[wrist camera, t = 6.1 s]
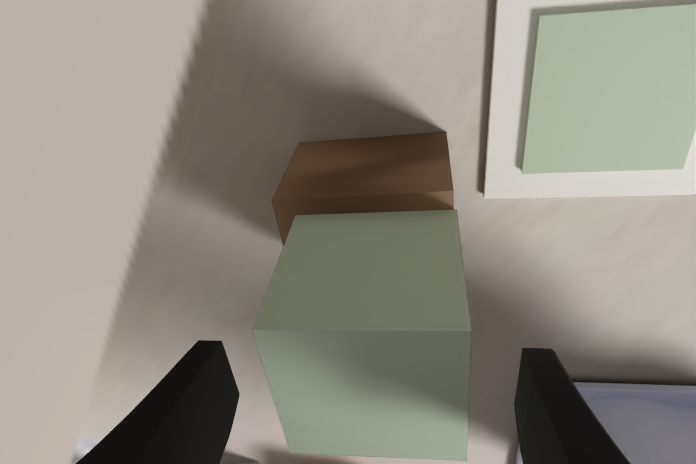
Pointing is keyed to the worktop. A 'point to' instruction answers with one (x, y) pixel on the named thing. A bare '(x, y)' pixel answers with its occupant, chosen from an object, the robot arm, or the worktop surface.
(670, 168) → the swatch
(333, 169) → the walnut base block
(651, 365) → the worktop surface
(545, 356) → the robot arm
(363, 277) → the sage block
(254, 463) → the slate grey block
